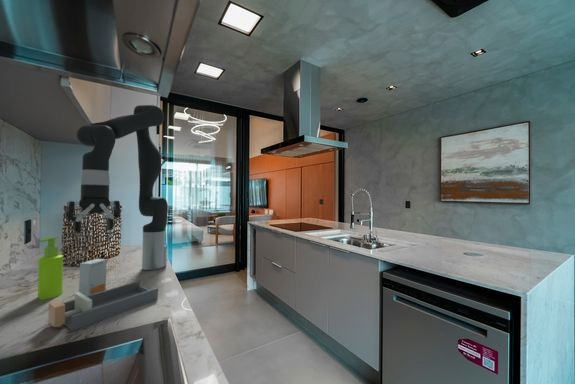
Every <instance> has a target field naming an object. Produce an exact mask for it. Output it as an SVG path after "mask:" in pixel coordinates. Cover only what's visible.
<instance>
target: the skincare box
mask: <svg viewBox="0 0 575 384" xmlns="http://www.w3.org/2000/svg"><path fill="white" fill-rule="evenodd" d="M78 281H79V282H78V292H80V293H82V294H83V295H85V296H88V295H92V294H95V293H99V292H102V291H105V290H107V289H106V288H107V287H106V286H107V284H106V283H107V259H106V258H104V259H103V258H95V259H90V260H88V261H84V262H83V261H82V262H80V263H79V279H78Z"/></svg>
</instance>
